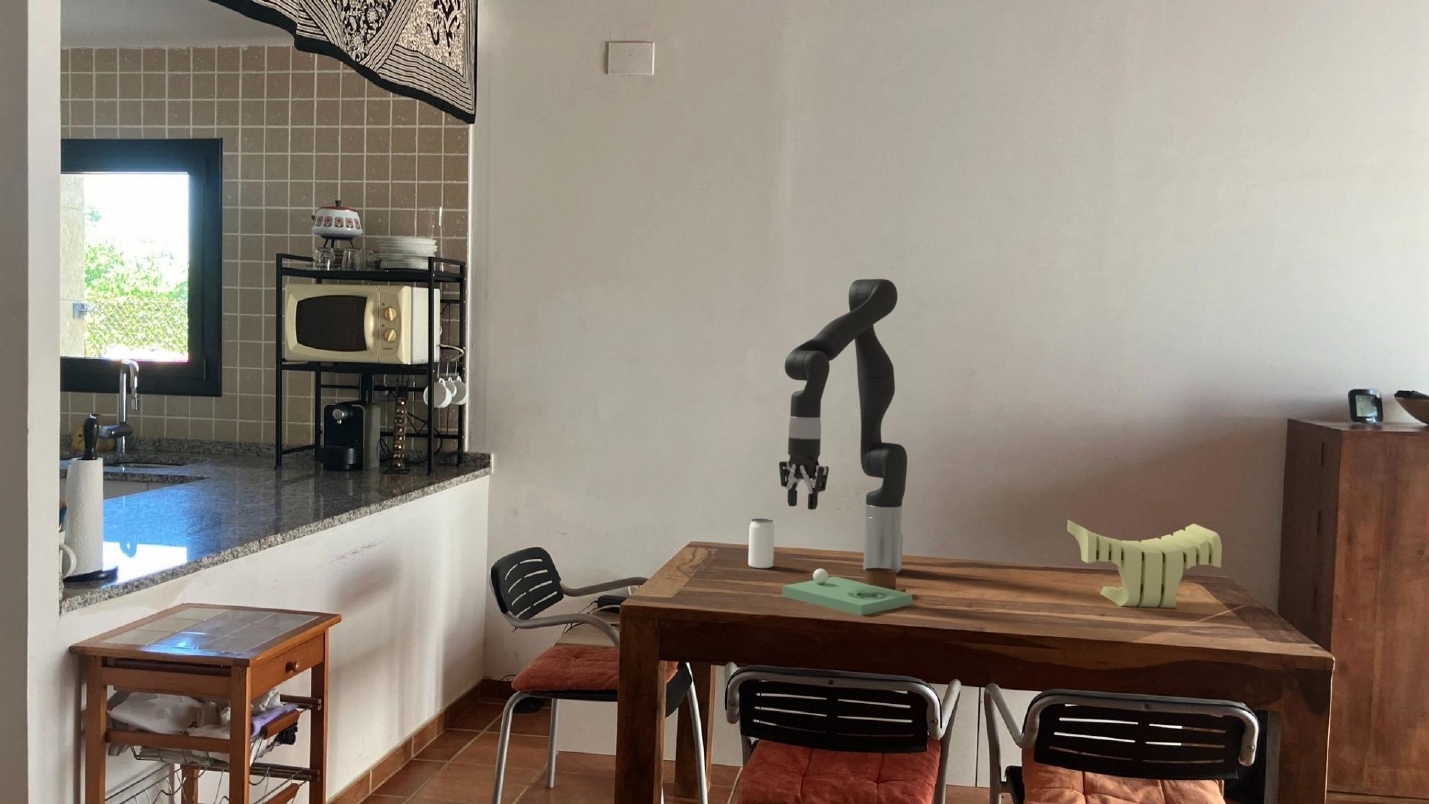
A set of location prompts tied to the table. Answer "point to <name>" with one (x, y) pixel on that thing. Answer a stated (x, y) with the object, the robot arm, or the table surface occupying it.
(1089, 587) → the table surface
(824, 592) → the green
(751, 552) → the can
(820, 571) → the ball
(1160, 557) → the slatted curved stool
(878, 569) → the brown cylindrical stub
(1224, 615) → the table surface
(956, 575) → the table surface
